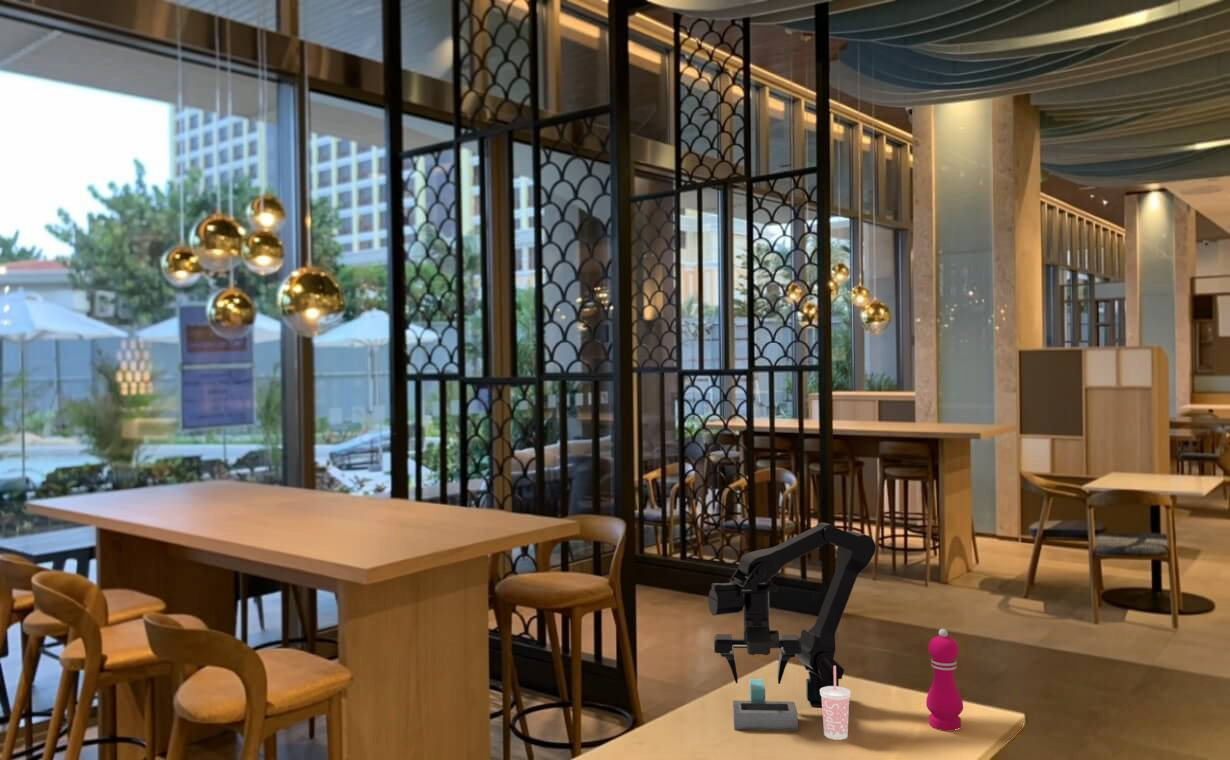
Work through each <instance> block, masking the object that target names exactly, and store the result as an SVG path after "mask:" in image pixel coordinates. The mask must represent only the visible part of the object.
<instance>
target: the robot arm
mask: <svg viewBox="0 0 1230 760" xmlns="http://www.w3.org/2000/svg"><path fill="white" fill-rule="evenodd" d="M875 543H876V542H875V540H874V539H873V538H872V537H871V536H870V535H868V534H864V533H861V532H856V531H853V530H850V531H846V530H843V529H840V528H838V527H836V526H835V525H833V524H831V523H828V522H819V523H817V524H816V525H815V526H814V527H811V528H809V529H807V530H805V531H803V532H800V533H799V534H797V535H795V536H793V537H791V538H789V539H787V540H785V541H783V542H781V543H779V544H777V545H775V546H773V547H769V548H763V549H756V550H754V551H750V552H747V553H744V554H743V555H741V557H740V560H739V563H738V567H737V569H736V570H735V572H734V573H733V575H732V577H730V580H729V582H725V583H719V582H715V583H714V582H713V583H711V589H710V591H709V593H708V597H707V603H708V608H709V611H710V613H711V615H712V616H713V617H714V616H725V615H727V616H728V615H737V614H740V612H742V611H743V612H742V617H743V618H742V619H743V622H742V623H743V638H733V634H732V633H729V634H728V633H723V634H722V633H716V634H715V635H714V636H713V639H714V640H713V643H714V644H713V646H714V654H715V653H716V654H720V657H723V658H725V659H726V661H727V662H728V665H729V667H730V670H731V672H732V676H733V678H734V682H735V684H738V683H739V681H738V670H737V663H736V658H735V651H734V649H737V648H738V649H746V651H747V654H748V655H750V656H755V655H763V656H768V655H770V654H771V649H779V652H778V653H779V654H778V664H777V665H778V667H777V684H778V685H779V684H781V682H782V679H783V676H784V673H785V670H786V666H787V665H788V662H789V661H790V660H791V658H795V657H796V655H797V658H798V660H799V661H800V663H802V664H803V667H804V669H805V670H806V671H808V672H807V673H808V678H806V679H805V696H806V700H807V701H809V705H810V706H811V707H822V699H821V695H820V689H821V688H823V687H827V686H834V666H836V686H838V687H840V686H839V685H840V684H839V683H840V682H839V681H840V680H841V679H843V675H844V671H845V669H844V668H843V667H842V666H841V664H839V663H838V662H837V661H836V659H835V655H836V649H837V648H836V647H837V646H836V645H837V643H836V632H837V630H838V627H839V625H840V623H841V620H842V617H843V615H844V612H845V609H846V607H847V604H848V602H849V599H850V597H851V594H852V591H853V589H854V586H855V584H856V581H857V578H858V576H859V575H860V574H861V572H863V570H865V569H866V568H867V567H868V566H869V564H870V563H871V561H872V559H873V557H874V556H875V553H876V551H877V545H876V544H875ZM827 544H831V545H833V546H836V547H837V549H836V563H837V564H836V570H835V572H834V575H833V576H832V577H833V578H832V580H831V581H830V582H831V583H830V585H829V587H828V590H827V593H826V595H825V598H824V601H823V602H822V605H821V608H820V610H819V613H818V616H817V619H816V621H815V623H814V625H813V626H812V627H811V628H810V629H809V630H806V629H804V628H803V629H802V630H801V632H800V636H798V635H797V634H779V632H780V631H779V630H774V629H773V630H771V626H770V625H771V623H770V622H771V621H770V619H771V618H770V615H771V614H770V592H778V591H779V587H778V586H776V585H775V584H774V583H773V581H772V580H771V579H772V578H773V577H774V576H775V575H777V574H778V573H779V572H780V571H781V570H782V568H783V567H784V566H786V565H787V564H790V563H791V562H793V561H795V560H797V559H799V558H801V557H803V556H805V555H807V554H809V553H811V552H813V551H815V550H817V549H819V548H821V547H823V546H825V545H827ZM745 579H746V580H745Z"/></svg>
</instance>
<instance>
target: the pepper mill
mask: <svg viewBox="0 0 1230 760" xmlns="http://www.w3.org/2000/svg"><path fill="white" fill-rule="evenodd" d="M948 635H949V634H948V630H947V629H945V628H941V629H939V631H938V635H936V636H934V637H933V638H931V639H930V641H929V642H928V647H927V649H928V653H929V655H930V656H931V659H930V662H931V664H930V666H931V668H933V681H932V683H931V686H930V689H929V691H928V692H927V693H928V694H927V696H926V700H925V701H926V702H925V703H926V708H927V710H928V711H929V712H930V714H929V716H928V724H930V725H929V726H930V727H931V726H932V727H931V728H933V727H934V728H933V729H935V728H937V729H936V730H938V729H941V730H940V731H943V730H955V729H958V728H960V727H961V728H962V719H961V717H960V716H959V715H960V714H961V713H962V712H963V710H964V702H963V699H962V696H961V694H960V692H959V689H958V687H957V685H956V681H955V670H956V669H957V664H958V663H957V660H956V658H957V657H958V656H959V655H960V654H959V653H960V649H959V648H960V647H959V644H958V643H957V641H956V640H955V639H954V638H952V637H950V636H948ZM961 728H960V729H961ZM955 731H956V730H955Z"/></svg>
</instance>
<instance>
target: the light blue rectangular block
mask: <svg viewBox="0 0 1230 760" xmlns="http://www.w3.org/2000/svg"><path fill="white" fill-rule="evenodd" d="M749 697H750V699H749V701H766V686H765V683H764V679H760V678H759V679H756V678H755V679H750V678H749Z"/></svg>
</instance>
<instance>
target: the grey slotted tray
mask: <svg viewBox="0 0 1230 760" xmlns="http://www.w3.org/2000/svg"><path fill="white" fill-rule="evenodd" d="M797 710H798V709H797V706H796V702H795V701H789V700H788V701H784V700H783V701H782V700H778V701H777V700H765V701H750V700H732V718H733V730H738V731H739V730H740V731H743V730H744V731H780V732H781V731H783V732H787V731H789V732H790V731H791V732H798V731H799V716H798V715H799V714H798V711H797Z"/></svg>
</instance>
